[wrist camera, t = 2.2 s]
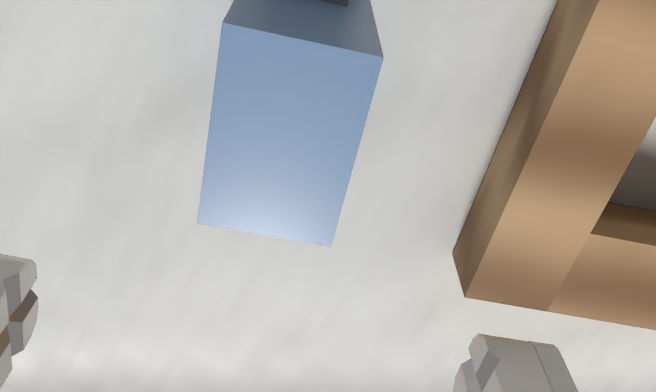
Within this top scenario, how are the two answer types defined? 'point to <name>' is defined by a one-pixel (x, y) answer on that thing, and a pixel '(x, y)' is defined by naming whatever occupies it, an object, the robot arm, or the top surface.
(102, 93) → the top surface
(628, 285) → the wooden base block
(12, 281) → the robot arm
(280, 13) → the block
